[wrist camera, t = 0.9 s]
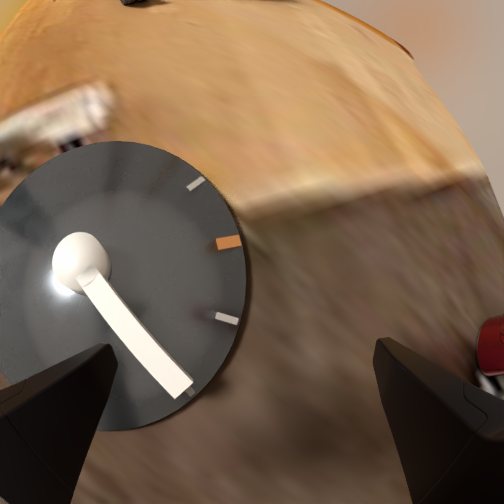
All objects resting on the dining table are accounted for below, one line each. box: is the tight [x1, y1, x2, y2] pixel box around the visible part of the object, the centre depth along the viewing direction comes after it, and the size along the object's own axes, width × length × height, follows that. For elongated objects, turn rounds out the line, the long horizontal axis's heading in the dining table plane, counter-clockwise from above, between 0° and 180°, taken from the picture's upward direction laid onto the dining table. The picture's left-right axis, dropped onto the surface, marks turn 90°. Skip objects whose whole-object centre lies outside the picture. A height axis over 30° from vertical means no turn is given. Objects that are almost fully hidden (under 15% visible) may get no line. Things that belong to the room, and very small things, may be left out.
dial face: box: [0, 141, 246, 431], centre depth 20 cm, size 24×24×1 cm
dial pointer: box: [52, 232, 193, 399], centre depth 18 cm, size 13×4×2 cm, turn 45°
